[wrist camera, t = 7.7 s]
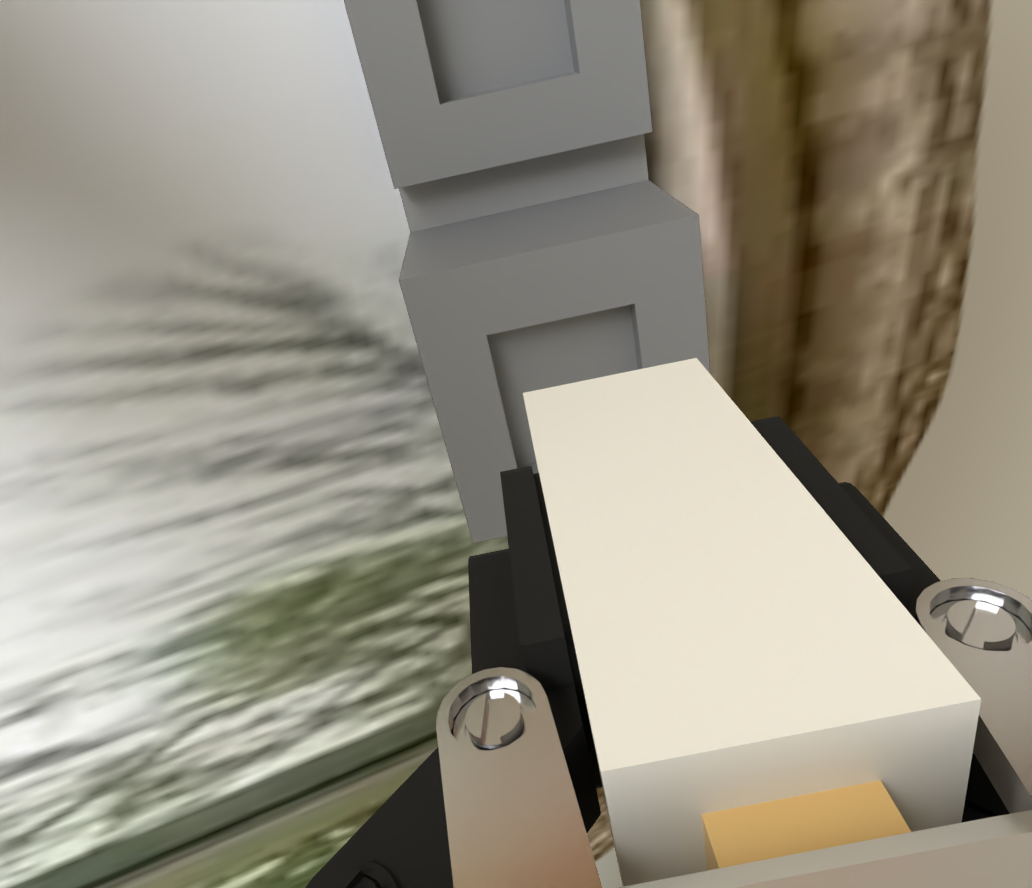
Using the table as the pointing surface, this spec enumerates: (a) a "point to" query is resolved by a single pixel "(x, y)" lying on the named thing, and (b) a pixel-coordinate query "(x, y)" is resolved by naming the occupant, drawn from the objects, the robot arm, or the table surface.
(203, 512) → the table surface
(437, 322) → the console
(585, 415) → the plug
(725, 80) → the table surface
